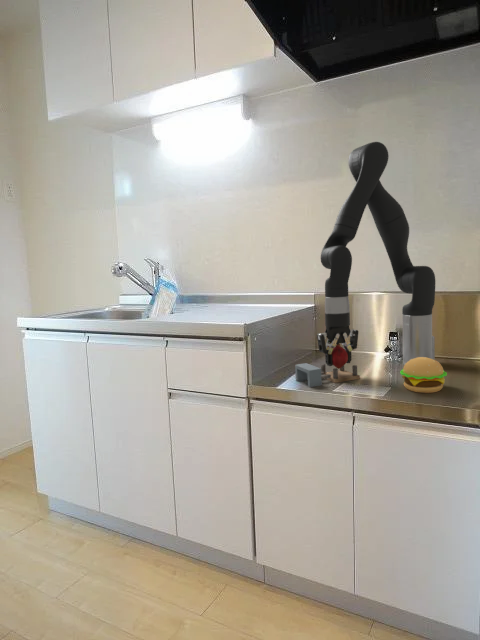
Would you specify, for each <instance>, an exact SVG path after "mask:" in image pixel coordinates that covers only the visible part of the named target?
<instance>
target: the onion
mask: <svg viewBox="0 0 480 640" xmlns="http://www.w3.org/2000/svg"><path fill="white" fill-rule="evenodd" d="M331 354H332V362H333V365H332V366H333V367H335V368H337V369H339V370H340V368H341V367H342V366H344V367H345V365H346V364H347V363H346V362H347V361H348V354H347V352H346V350H345V349H344V347H342V346H341V343H339V344H336V345H335V347H334V348H333V351H332V353H331Z"/></svg>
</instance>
